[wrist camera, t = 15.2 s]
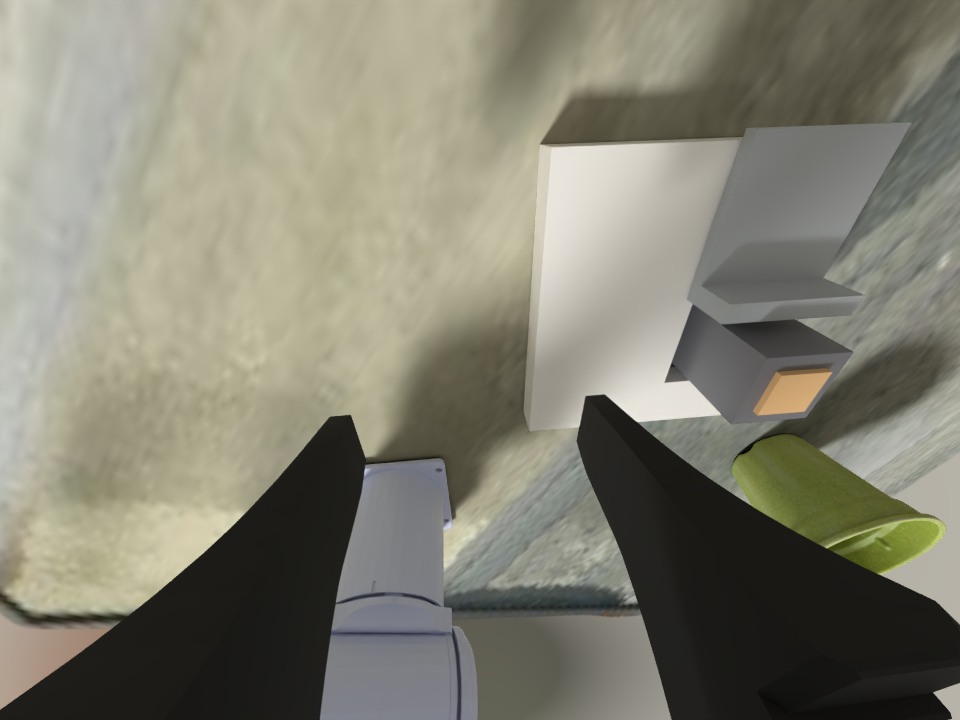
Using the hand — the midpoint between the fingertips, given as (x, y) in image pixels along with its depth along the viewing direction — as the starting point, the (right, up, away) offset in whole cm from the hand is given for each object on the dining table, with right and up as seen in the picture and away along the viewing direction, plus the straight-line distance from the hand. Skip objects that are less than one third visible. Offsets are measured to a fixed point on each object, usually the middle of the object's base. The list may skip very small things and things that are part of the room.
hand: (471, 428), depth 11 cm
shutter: (+14, +9, +5) cm, 17 cm away
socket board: (+11, +6, +9) cm, 15 cm away
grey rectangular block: (+14, +4, +10) cm, 18 cm away
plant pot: (+25, -6, +19) cm, 33 cm away
